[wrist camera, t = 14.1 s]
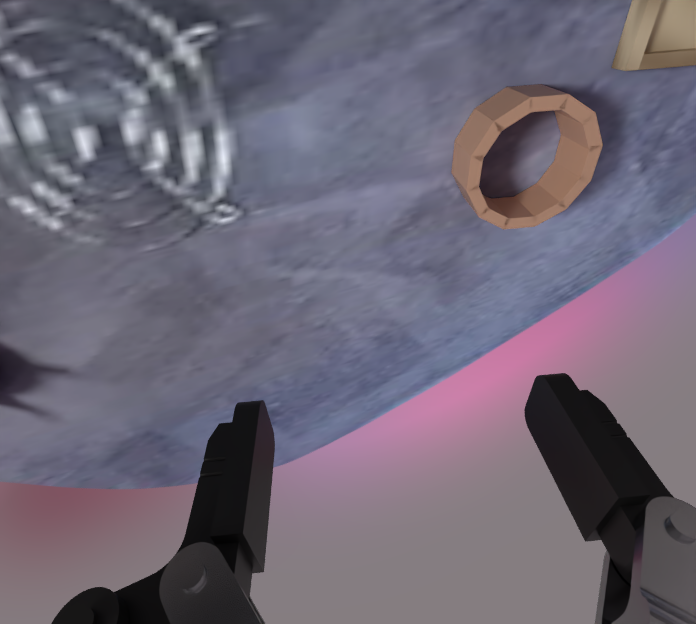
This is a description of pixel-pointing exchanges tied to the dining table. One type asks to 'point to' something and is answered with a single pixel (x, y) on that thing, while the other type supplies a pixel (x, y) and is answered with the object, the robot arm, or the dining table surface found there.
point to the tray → (658, 35)
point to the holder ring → (561, 177)
